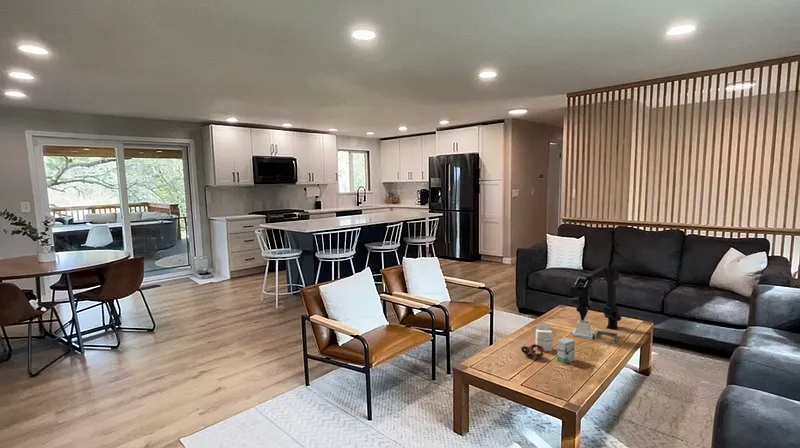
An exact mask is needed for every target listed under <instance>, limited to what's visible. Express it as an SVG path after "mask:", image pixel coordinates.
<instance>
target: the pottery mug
mask: <svg viewBox="0 0 800 448" xmlns="http://www.w3.org/2000/svg"><path fill="white" fill-rule="evenodd" d="M536 347H538V348H539V349H540V350H541V351H540V353H536V351H537V350H536V349H534V348H536ZM520 350H521V352H522V353H523V354H524V355H525V356H527V355H528V354H530V355H532V360H533V361H536V360H539V359H541V358H542V357H543V356H544V351H543V349H542V348H541V347H540V346H539V345H536V344H535V343H533V344H531V345H529V346H527V345H522V346H521V348H520Z"/></svg>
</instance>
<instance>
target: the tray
mask: <svg viewBox="0 0 800 448" xmlns="http://www.w3.org/2000/svg"><path fill="white" fill-rule="evenodd" d="M571 335H572V337H577V338H580V339H581V338H582V339H588V340H593V338H594V337H595V331H593V330H590V335H589V336H588V335H582V334H577V328H574V329H573V332H572V334H571Z"/></svg>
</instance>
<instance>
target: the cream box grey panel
mask: <svg viewBox="0 0 800 448" xmlns="http://www.w3.org/2000/svg"><path fill="white" fill-rule="evenodd" d="M576 329H577V334H582V335H588V336H589V335H590V331H591V321H589V320H583V321H582V320H581V319H579V320H577V323H576Z"/></svg>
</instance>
